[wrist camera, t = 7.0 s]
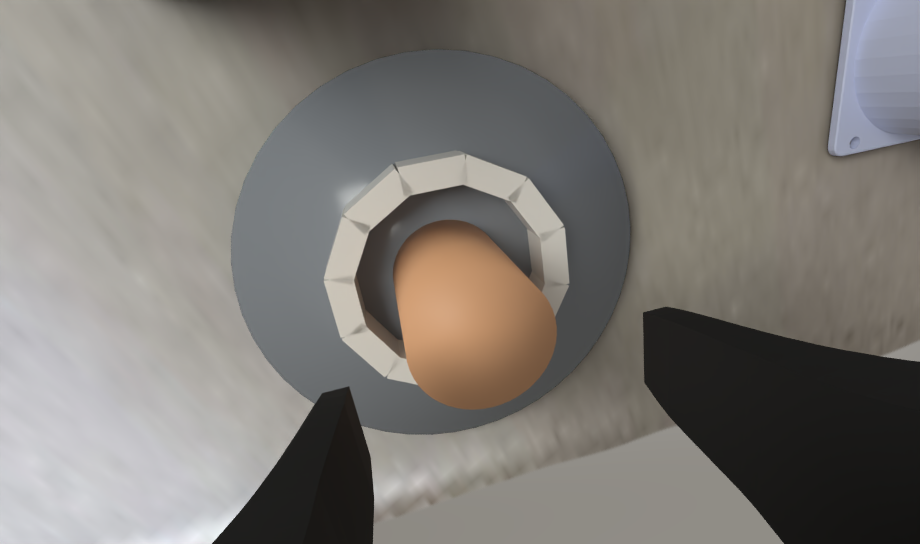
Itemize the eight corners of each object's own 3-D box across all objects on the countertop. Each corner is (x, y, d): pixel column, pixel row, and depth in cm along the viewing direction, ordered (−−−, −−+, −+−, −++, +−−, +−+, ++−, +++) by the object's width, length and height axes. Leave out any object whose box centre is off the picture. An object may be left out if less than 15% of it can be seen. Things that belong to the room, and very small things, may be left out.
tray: (613, 19, 17) (647, 8, 15) (626, 375, 23) (652, 402, 21) (167, 93, 15) (137, 91, 13) (304, 461, 21) (298, 501, 19)
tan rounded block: (507, 222, 18) (569, 273, 13) (493, 323, 20) (543, 407, 14) (396, 216, 18) (411, 267, 12) (389, 322, 19) (400, 411, 13)
